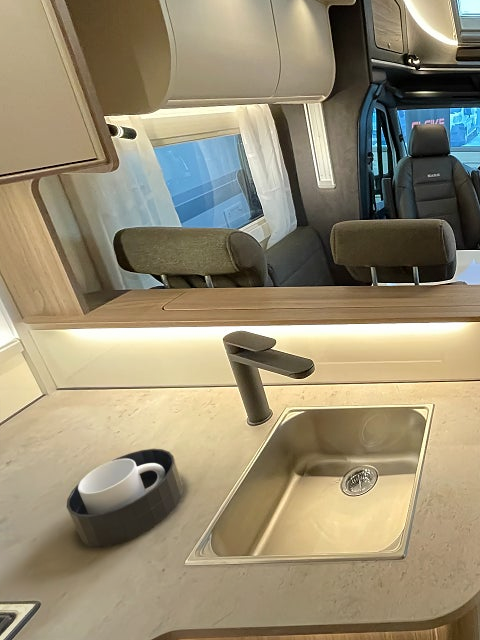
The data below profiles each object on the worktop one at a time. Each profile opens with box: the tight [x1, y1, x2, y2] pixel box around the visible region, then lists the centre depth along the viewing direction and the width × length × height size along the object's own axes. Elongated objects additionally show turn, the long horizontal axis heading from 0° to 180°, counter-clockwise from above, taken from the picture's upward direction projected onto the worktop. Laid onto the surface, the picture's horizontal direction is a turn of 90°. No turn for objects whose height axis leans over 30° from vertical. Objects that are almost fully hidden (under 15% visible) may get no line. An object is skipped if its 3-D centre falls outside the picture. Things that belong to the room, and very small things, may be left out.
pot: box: [66, 448, 184, 548], centre depth 84 cm, size 16×16×8 cm
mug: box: [77, 459, 165, 515], centre depth 83 cm, size 12×8×10 cm
